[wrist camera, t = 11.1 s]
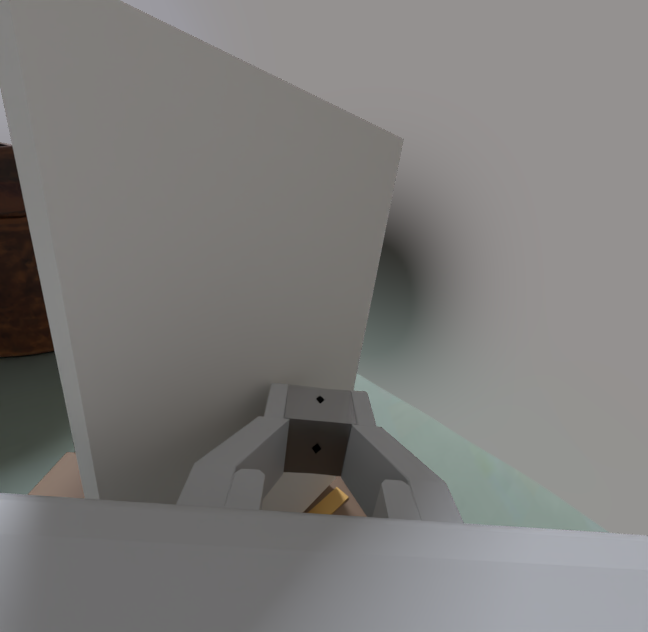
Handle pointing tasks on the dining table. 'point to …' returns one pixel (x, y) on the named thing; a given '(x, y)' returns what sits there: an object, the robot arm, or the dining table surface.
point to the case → (18, 271)
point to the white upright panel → (185, 237)
